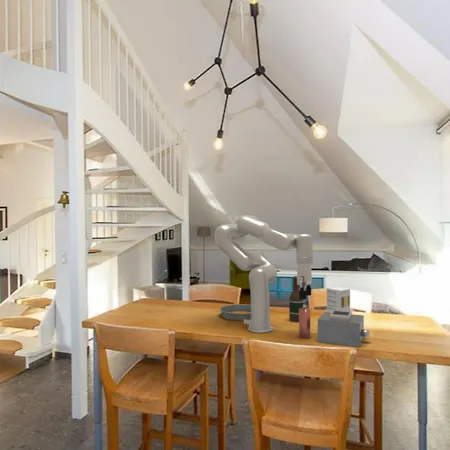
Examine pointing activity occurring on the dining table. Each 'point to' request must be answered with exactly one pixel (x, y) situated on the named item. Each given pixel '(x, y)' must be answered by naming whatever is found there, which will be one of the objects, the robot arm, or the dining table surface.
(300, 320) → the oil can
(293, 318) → the beer bottle
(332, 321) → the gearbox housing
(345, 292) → the supplement box
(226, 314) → the cake pan
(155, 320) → the dining table surface
